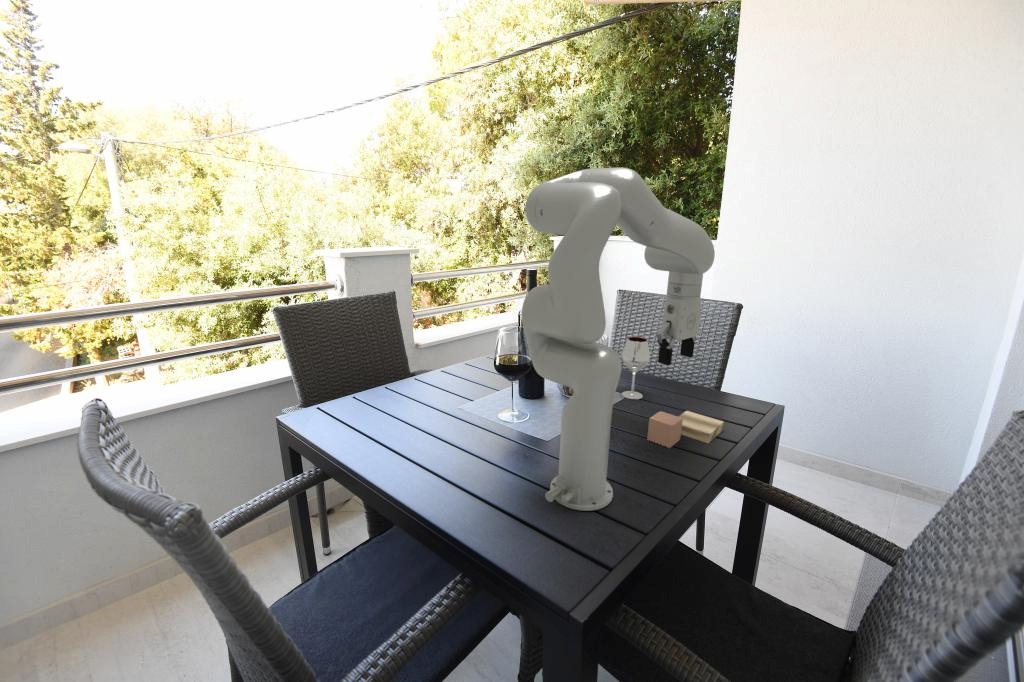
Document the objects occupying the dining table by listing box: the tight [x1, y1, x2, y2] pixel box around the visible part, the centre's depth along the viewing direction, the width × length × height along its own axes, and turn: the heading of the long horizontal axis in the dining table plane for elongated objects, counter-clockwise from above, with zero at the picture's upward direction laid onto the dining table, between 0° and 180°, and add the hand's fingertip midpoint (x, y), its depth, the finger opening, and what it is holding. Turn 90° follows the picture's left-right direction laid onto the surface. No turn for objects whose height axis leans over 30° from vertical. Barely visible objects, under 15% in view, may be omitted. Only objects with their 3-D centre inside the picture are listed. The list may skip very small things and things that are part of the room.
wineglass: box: [621, 336, 651, 400], centre depth 147 cm, size 8×8×18 cm
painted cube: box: [646, 411, 683, 449], centre depth 120 cm, size 6×6×6 cm
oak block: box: [677, 410, 725, 444], centre depth 126 cm, size 10×10×3 cm
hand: (675, 359), depth 118 cm, fingers open, 9 cm apart
